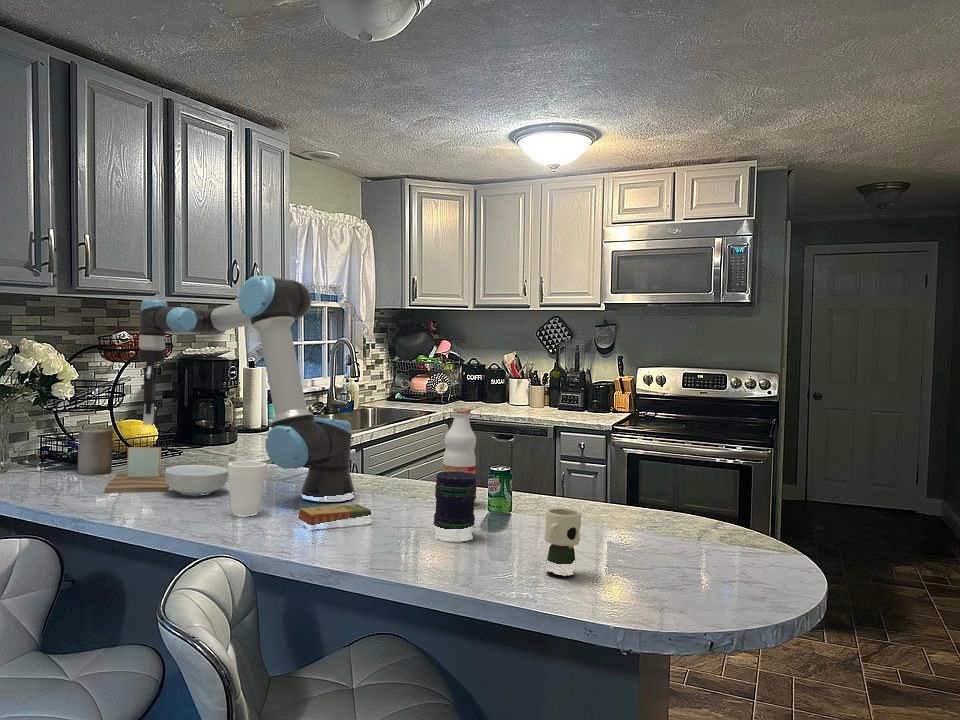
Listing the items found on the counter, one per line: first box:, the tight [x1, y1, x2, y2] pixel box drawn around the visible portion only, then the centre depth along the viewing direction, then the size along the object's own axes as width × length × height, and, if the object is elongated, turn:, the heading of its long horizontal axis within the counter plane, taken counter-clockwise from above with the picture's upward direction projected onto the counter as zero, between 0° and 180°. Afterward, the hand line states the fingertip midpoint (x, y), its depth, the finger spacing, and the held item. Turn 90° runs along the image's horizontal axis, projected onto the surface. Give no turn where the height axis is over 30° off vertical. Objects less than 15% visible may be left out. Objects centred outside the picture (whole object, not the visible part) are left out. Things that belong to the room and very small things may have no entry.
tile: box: [126, 446, 162, 478], centre depth 217 cm, size 2×9×9 cm, turn 109°
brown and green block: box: [298, 503, 372, 525], centre depth 178 cm, size 8×16×4 cm, turn 125°
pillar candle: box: [77, 425, 114, 476], centre depth 227 cm, size 10×10×15 cm
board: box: [104, 472, 170, 494], centre depth 213 cm, size 24×16×1 cm, turn 19°
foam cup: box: [227, 460, 268, 515], centre depth 183 cm, size 10×9×13 cm
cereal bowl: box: [164, 464, 229, 496], centre depth 204 cm, size 17×17×7 cm
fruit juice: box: [442, 407, 477, 475], centre depth 205 cm, size 9×9×28 cm
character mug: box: [544, 507, 582, 564], centre depth 146 cm, size 11×7×13 cm, turn 148°
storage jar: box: [433, 471, 477, 529], centre depth 171 cm, size 10×10×15 cm
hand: (148, 424), depth 225 cm, fingers closed
